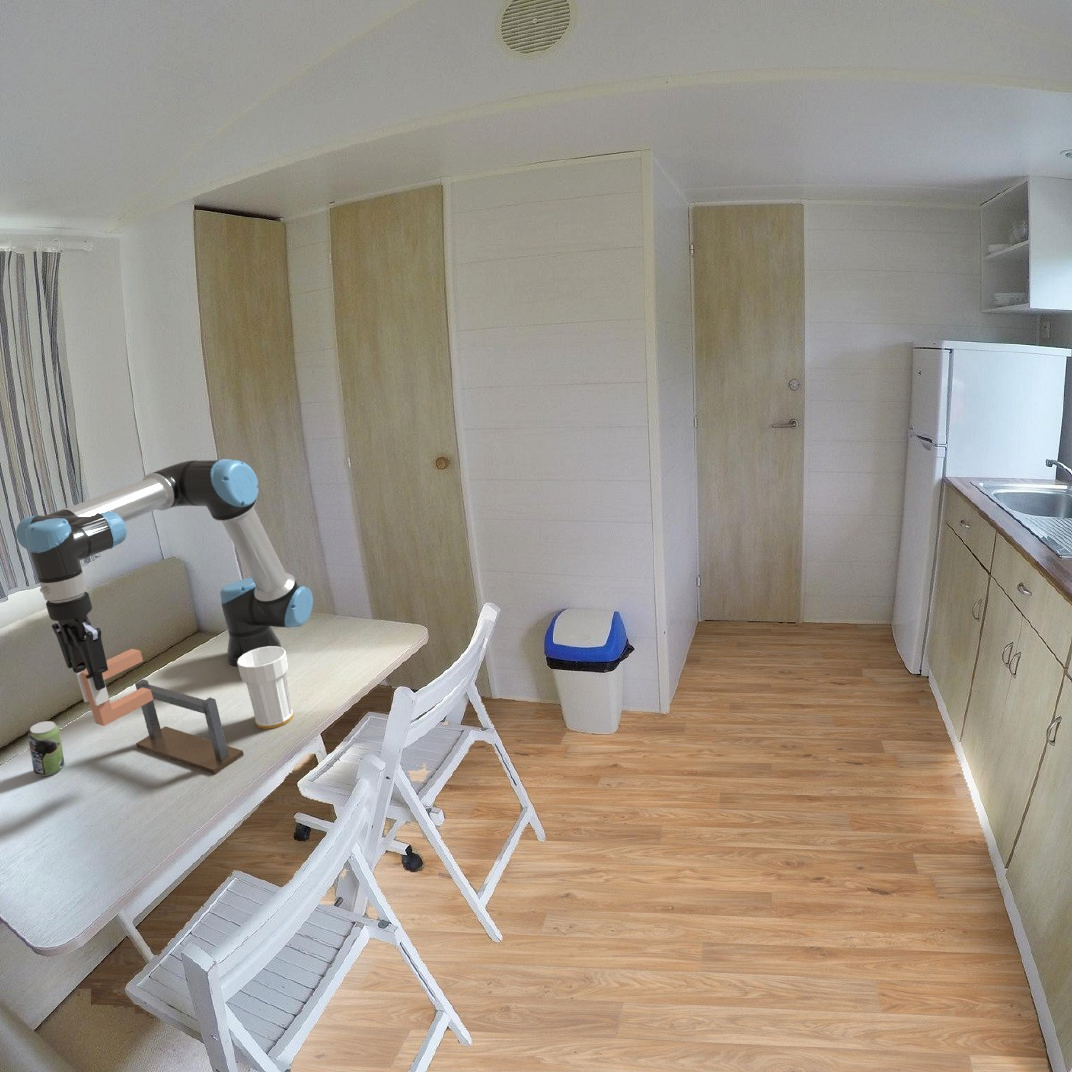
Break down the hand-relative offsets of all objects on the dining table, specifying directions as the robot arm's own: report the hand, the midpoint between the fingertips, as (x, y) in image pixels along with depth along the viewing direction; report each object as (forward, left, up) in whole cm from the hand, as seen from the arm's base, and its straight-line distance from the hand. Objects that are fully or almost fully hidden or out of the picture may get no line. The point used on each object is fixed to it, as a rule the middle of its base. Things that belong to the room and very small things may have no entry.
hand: (96, 700), depth 160 cm
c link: (-3, +4, -5) cm, 7 cm away
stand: (-8, +14, -23) cm, 28 cm away
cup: (-10, +35, -23) cm, 43 cm away
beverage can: (-20, -14, -23) cm, 33 cm away
